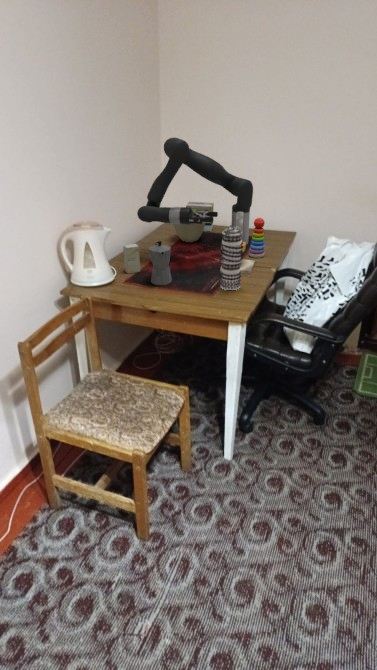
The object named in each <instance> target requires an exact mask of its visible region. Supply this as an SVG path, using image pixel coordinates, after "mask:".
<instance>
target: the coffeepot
mask: <svg viewBox="0 0 377 670" xmlns="http://www.w3.org/2000/svg"><path fill="white" fill-rule="evenodd" d="M148 251H149V256H150V261H151V264H152V268H151V269H152V270H151V279H150V282H151V283H152V284H153V285H155V286H166V285H169V284H171V283H172V281H173V277H172V275H171V268H170V265H169V263H170V259H171V251H172V247H171V246H169V245H167V244H162V241H161V240H158V241H156V242H155V245H152V246H150V247H149V249H148Z"/></svg>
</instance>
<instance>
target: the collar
mask: <svg viewBox="0 0 377 670" xmlns="http://www.w3.org/2000/svg"><path fill="white" fill-rule="evenodd" d="M242 246H243V248H242V249H241V250H242V251H243V252H242V253H244V252H245V251H246V248H247V247H246V246H247V245H246V242H243V245H242Z"/></svg>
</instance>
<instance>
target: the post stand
mask: <svg viewBox="0 0 377 670" xmlns="http://www.w3.org/2000/svg"><path fill="white" fill-rule="evenodd" d="M236 228H239V230H240V231H241V232H242V235H243V212H237V216H236ZM241 239H242V238H241ZM241 254H242V255H243V252H242V253H241ZM240 258H241V259H242V257H240ZM255 264H256V260H254V259H253V260H252V259H242V261H241V262H240V267H241V270H240V271H241V274H245V275H247V274H248V275H251V274H252V271H253V269H254V267H255ZM221 267H222V265H221V266H220V268H219V272H221Z"/></svg>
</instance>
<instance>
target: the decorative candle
mask: <svg viewBox="0 0 377 670" xmlns="http://www.w3.org/2000/svg"><path fill="white" fill-rule="evenodd" d="M221 234H222V239H221V244H220V247H219V248H220V261H221V266H222V267H221V266H220V268H221V271H220V279H219V281H220V283H219V284H220V289H221V288H222V290H223V289H224V290H223V291H226V290H236V291H238V290H240V289H241V284H242V283H241V281H242V279H241V278H242V275H241V274H242V273H241V271H240V270H241V267H240V262H241V261H242V257H243V253H244V252H243V251H242V250H241V249H242V248H243V246H242V245H243V242H242V239H241V238H242V232H241V231H240V230H239V228H236V227H230V226H229V227H226V228H225V229H224V230H223V231H221ZM241 253H242V254H241ZM240 257H241V258H240ZM239 288H240V289H239ZM237 289H238V290H237Z"/></svg>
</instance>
